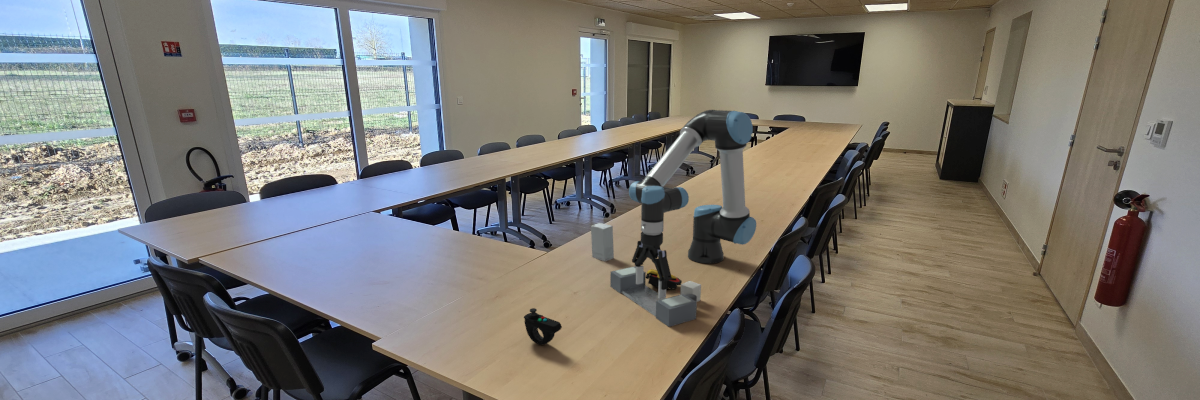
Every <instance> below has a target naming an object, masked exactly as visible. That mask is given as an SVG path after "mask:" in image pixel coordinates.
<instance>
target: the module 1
mask: <svg viewBox="0 0 1200 400" xmlns="http://www.w3.org/2000/svg"><path fill="white" fill-rule="evenodd" d="M646 275H647V272H646V271H645V270H644V271H643V283H642V284H636V266H635V265H634V266H629V267H625V268H620V269H616V270H612V271H610V278H609V279H610V284H609V285H610V288H612V289H613V290H615V291H616V292H617V293H619V294H622V293H621V290H624V289H628V288H632V287H636V286H640V285H646Z"/></svg>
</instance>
